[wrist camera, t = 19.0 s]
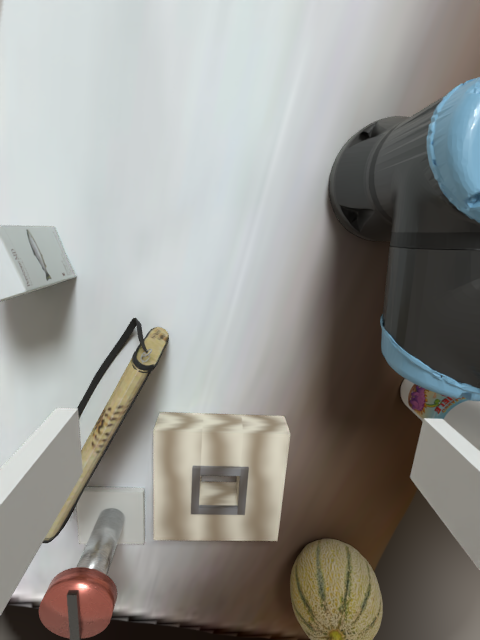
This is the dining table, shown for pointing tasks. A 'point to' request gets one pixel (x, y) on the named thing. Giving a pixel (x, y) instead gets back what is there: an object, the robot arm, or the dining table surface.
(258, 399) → the dining table surface
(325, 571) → the cantaloupe
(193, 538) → the block
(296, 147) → the dining table surface
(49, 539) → the clutch purse
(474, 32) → the dining table surface
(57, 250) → the supplement box
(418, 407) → the milk bottle
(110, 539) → the screw pin
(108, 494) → the rubber mat
